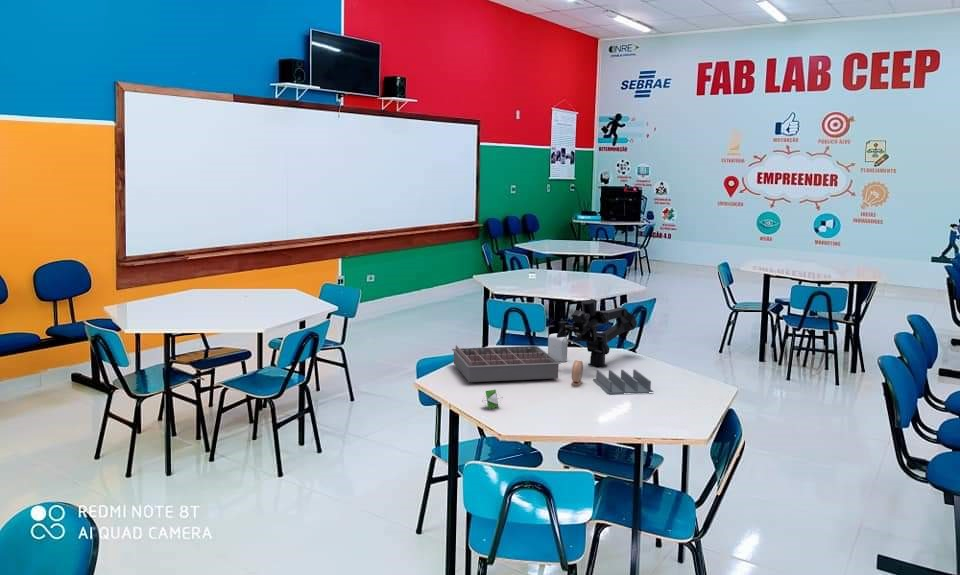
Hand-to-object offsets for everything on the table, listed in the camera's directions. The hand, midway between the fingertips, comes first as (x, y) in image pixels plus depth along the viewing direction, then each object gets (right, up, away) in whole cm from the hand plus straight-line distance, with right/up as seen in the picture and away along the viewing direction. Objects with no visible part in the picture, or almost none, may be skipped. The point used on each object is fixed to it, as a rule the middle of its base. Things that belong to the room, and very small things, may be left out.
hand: (565, 338), depth 324 cm
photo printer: (-1, -12, +30) cm, 32 cm away
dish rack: (+22, -19, -12) cm, 32 cm away
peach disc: (+3, -18, -10) cm, 21 cm away
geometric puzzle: (-32, -23, -43) cm, 59 cm away
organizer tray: (-26, -16, +5) cm, 31 cm away
